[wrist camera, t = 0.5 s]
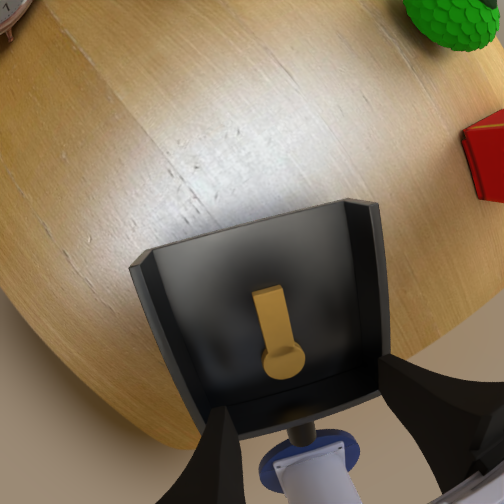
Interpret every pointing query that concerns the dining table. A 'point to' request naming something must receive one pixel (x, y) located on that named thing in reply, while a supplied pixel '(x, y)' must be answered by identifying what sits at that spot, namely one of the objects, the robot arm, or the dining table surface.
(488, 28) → the ornament
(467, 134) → the french fries container
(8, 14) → the alarm clock
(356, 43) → the dining table surface
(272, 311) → the spoon
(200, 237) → the grey sheet metal tray
